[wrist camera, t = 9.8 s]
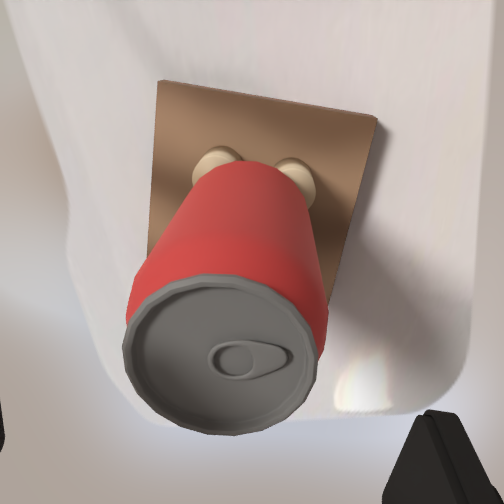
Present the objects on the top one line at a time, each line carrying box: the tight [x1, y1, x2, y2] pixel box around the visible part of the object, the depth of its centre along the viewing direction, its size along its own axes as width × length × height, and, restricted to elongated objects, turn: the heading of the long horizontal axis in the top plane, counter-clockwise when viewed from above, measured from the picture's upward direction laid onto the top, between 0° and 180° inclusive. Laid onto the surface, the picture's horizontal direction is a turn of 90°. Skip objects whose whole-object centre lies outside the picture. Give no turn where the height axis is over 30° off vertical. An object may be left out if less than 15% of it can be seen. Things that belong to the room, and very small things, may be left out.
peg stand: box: [147, 80, 378, 306], centre depth 25 cm, size 12×12×4 cm
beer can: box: [122, 161, 329, 436], centre depth 18 cm, size 7×7×12 cm
